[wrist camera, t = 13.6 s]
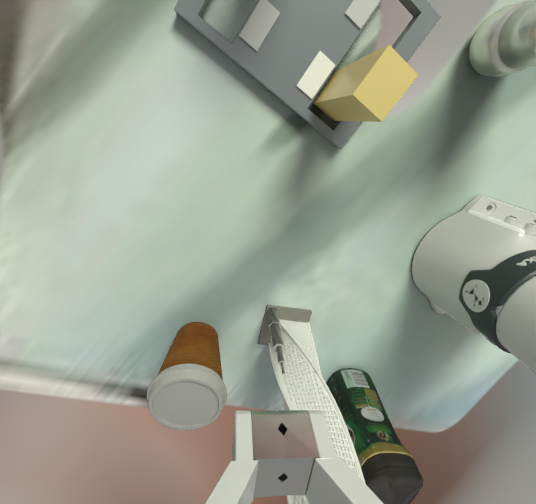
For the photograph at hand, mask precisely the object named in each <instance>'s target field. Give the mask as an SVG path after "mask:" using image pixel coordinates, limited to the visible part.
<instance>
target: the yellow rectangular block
mask: <svg viewBox="0 0 536 504" xmlns="http://www.w3.org/2000/svg"><path fill="white" fill-rule="evenodd" d="M417 76H418V74H417V73H416V72H415V71H414V70H413V69H412V68H411V67H410V66H409V65H408V63H407V62H406V61H405V60H404V59H403V58H402V57H401V56H400V55H399V54H398V53H397V52H396V51H395V50H394V49H393V48H392V47H391V46H390V45H387V46H385V47H383V48H381V49H379V50H377V51H375V52H373V53H371V54H369V55H367V56H365V57H363V58H361V59H359V60H357V61H355V62H353V63H351V64H349V65H347V66H345V67H343V68H341V69H339V70H337V71H335V73H334V74H333V75H332V77H331V78H330V80H329V81H328V83H327V84H326V85H325V87H324V88H323V90H322V91H321V93H320V94H319V96H318V97H317V98H316V100H315V101H314V103H313V104H315V105H316V106H317V107H318V108H319V109H320V110H321V111H323V112H324V113H325V114H326V115H327V116H328V117H330V118H331V119H332V120H333V121H374V122H382V121H383V119H384V118H385V117H386V116H387V114H388V113H389V112H390V110H391V109H392V108H393V107H394V105H395V104H396V103H397V102H398V100H399V99H400V98H401V96H402V95H403V94H404V92H405V91H406V90H407V89H408V87H409V86H410V85H411V84H412V82H413V81H414V80H415V78H416V77H417Z"/></svg>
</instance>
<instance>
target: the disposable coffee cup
mask: <svg viewBox="0 0 536 504" xmlns="http://www.w3.org/2000/svg"><path fill="white" fill-rule="evenodd" d="M226 399H227V390H226V387H225V384H224V382H223V379H222V370H221V361H220V352H219V343H218V335H217V332H216V331H215V329H214V328H213V327H211V326H210V325H208V324H206V323H202V322H192V323H189V324H186V325H184V326H183V327H182V328H181V329H180V330H179V331H178V333H177V335H176V338H175V340H174V342H173V344H172V346H171V348H170V350H169V352H168V354H167V357H166V358H165V361H164V363H163V365H162V367H161V369H160V371H159V373H158V375H157V376H156V378H154V380H153V381H152V382H151V383H150V386H149V388H148V391H147V400H148V404H149V410H150V413H151V415H152V416H153V417H154V419H155V420H156V421H158V422H159V423H160V424H162V425H164V426H166V427H168V428H172V429H176V430H194V429H199V428H201V427H204V426H206V425H208V424H210V423H211V422H213V421H214V420H215V419H216V418H217V417H218V416H219V415H220V413H221V410H222V408H223V407H224V405H225V403H226Z"/></svg>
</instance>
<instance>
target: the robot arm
mask: <svg viewBox="0 0 536 504" xmlns="http://www.w3.org/2000/svg"><path fill="white" fill-rule="evenodd" d="M487 206H488V208H487ZM486 208H487V209H486ZM412 275H413V279H414V282H415V284H416V286H417V287H418V289H419V290H420V291H421V292H422V293H424V294H425V295H426V296H427V297H428V298H429V301H430V304H431V306H432V308H433V310H435V311H436V312H437V313H439V314H446V313H447V314H448V315H450V316H451V317H452V318H454V319H455V320H456V321H458V322H459V323H460V324H462V325H463V326H464V327H466V328H467V329H469V330H470V331H471V332H474V333H482V335H483V336H484V337H485V338H486V339H487V340H489V341H490V342H491V343H493V344H494V345H496V346H497V347H499V348H500V349H502V350H503V351H505V352H508V353H511V354H513V355H514V356H515V357H516V358H517V359H519V360H520V361H521V362H522V363H523V364H524V365H526V366H527V367H528V368H529V369H530V370H532V371H533V372H534V373H535V374H536V213H534V212H531V211H528V210H525V209H522V208H519V207H516V206H513V205H510V204H507V203H504V202H501V201H498V200H495V199H492V198H489V197H486V196H477V197H476V198H474V199H473V200H472V201H470V202H469V203H468V204H467V205H466V206H465V207H464V208H463V209H462V210H461V211H460V212H458V213H456V214H455V215H453V216H450V217H449V218H447V219H445V220H443V221H442V222H440V223H439V224H437V225H436V226H435V227H434V228H432V229H431V230H430V231H429V232H428V233H427V235H426V236H425V237H424V238H423V240H422V241H421V243H420V244H419V246H418V248H417V250H416V252H415V255H414V258H413V263H412ZM234 421H235V422H234V431H233V447H232V461H230V463H229V465H228V466H227V468H226V470H225V471H224V473H223V475H222V476H221V478H220V480H219V481H218V483H217V485H216V486H215V488H214V490H213V492H212V493H211V495H210V497H209V498H208V500H207V502H206V503H205V504H251V503H252V501H253V498H255V497H267V496H279V495H280V496H281V495H282V496H285V495H286V496H287V495H306V498H307V500H308V501H309V503H310V504H384V503H383V502H382V501H381V500H380V499H379V498H378V497H377V496H376V495H375V494H374V493H373V492H372V491H371V490H370V488H369V487H368V486H367V485H366V484H365V483H364V482H363V481H362V480H361V479H360V478H359V477H358V476H357V474H356V473H355V472H354V471H353V470H352V469H351V468H350V467H349V466H348V465H347V464H346V463H345V462H344V460H343V459H342V458H337V457H336V454H335V451H334V447H333V444H332V441H331V437H330V434H329V431H328V427H327V424H326V421H325V417H324V414H323V412H322V411H321V410H307V411H306V410H284V411H236V412H235V420H234Z"/></svg>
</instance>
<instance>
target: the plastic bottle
mask: <svg viewBox="0 0 536 504" xmlns="http://www.w3.org/2000/svg"><path fill="white" fill-rule="evenodd" d="M469 58H470V62H471V65H472V67H473V68H474V69H475V71H476V72H477V73H479V74H481V75H483V76H490V77H502V76H506V75H509V74H512V73H515V72H518V71H521V70H523V69H525V68H527V67H531V66H534V65H536V0H533V1H524V2H519V3H515V4H511V5H509V6H506V7H504V8H502V9H500V10H499V11H497V12H496V13H494V14H493V15H491V16H490V17H488V18H487V19H486V20H485V21H484V22H483V23H482V24H481V25H480V26H479V28H478V29H477V31H476V32H475V35H474V37H473V39H472V41H471V44H470V49H469Z"/></svg>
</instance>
